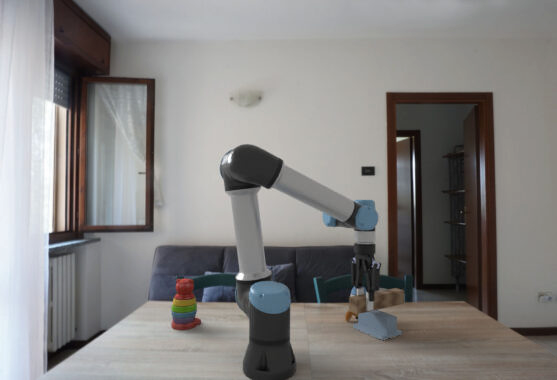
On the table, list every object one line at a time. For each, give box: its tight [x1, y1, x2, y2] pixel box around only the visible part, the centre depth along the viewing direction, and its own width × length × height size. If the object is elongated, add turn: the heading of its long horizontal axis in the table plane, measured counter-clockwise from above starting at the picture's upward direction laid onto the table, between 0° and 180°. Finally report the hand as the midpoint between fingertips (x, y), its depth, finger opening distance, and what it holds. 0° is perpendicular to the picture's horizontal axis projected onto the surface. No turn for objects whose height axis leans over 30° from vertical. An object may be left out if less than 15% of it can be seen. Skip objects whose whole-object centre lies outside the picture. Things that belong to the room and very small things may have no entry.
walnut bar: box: [348, 287, 405, 314], centre depth 131 cm, size 24×4×5 cm, turn 121°
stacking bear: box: [170, 278, 202, 331], centre depth 136 cm, size 11×10×18 cm
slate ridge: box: [352, 309, 403, 341], centre depth 131 cm, size 10×14×7 cm
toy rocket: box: [344, 286, 368, 322], centre depth 142 cm, size 10×11×15 cm
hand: (364, 308), depth 128 cm, fingers closed on walnut bar, 4 cm apart
